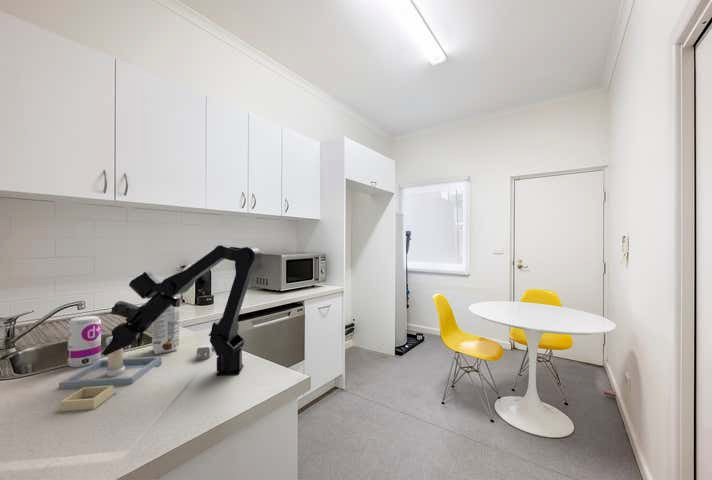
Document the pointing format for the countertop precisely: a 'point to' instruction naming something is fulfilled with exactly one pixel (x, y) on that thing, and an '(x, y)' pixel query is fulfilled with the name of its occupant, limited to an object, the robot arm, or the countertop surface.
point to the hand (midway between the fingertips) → (109, 349)
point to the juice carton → (166, 331)
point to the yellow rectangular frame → (86, 399)
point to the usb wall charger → (204, 351)
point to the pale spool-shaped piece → (115, 361)
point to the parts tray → (129, 363)
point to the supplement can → (84, 341)
